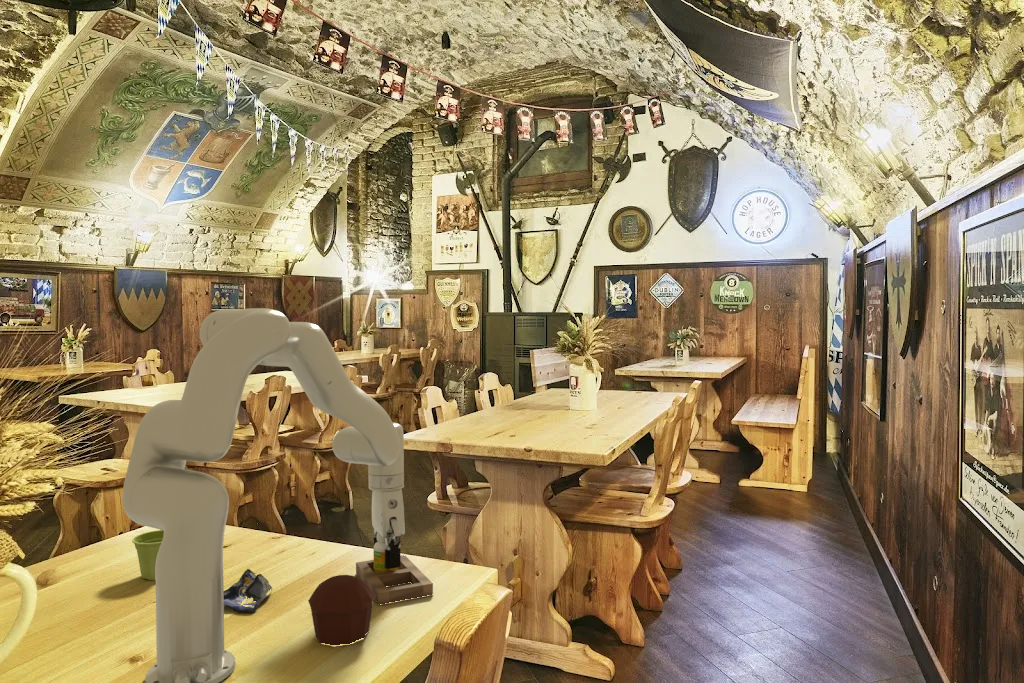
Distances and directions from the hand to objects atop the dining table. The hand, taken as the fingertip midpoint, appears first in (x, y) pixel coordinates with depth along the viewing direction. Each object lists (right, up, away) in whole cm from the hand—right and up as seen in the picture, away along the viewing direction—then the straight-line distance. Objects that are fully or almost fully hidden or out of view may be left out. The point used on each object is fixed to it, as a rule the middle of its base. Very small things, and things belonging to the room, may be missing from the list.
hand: (386, 560), depth 146 cm
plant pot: (-50, -4, +2) cm, 50 cm away
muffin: (-3, -4, -27) cm, 28 cm away
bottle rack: (+2, -4, -4) cm, 6 cm away
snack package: (-25, -5, -13) cm, 28 cm away
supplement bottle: (0, -4, 0) cm, 4 cm away
